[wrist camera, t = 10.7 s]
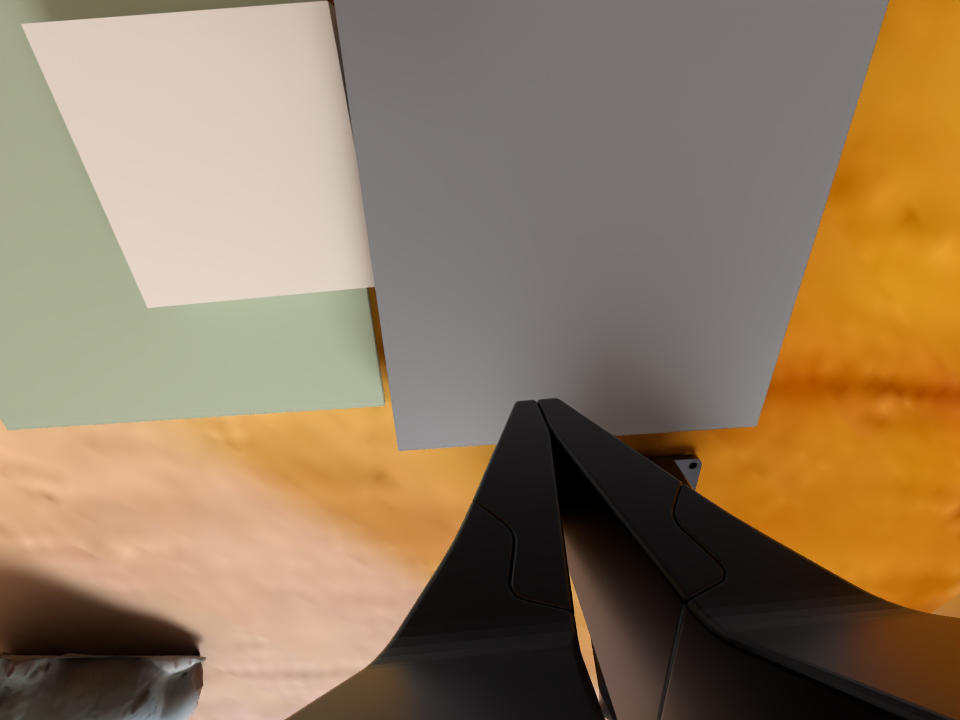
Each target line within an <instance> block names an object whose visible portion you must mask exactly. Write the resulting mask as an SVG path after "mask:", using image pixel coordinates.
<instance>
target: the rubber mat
mask: <svg viewBox="0 0 960 720" xmlns="http://www.w3.org/2000/svg"><path fill="white" fill-rule="evenodd" d="M316 1H325V0H0V419H1V420H2V422H3V424H4V425H5V427H6V428H7V430H18V429H34V428H49V427H65V426H80V425H96V424H111V423H127V422H143V421H158V420H174V419H189V418H205V417H220V416H236V415H251V414H267V413H283V412H298V411H314V410H329V409H345V408H360V407H376V406H385V396H384V390H383V383H382V376H381V370H380V363H379V357H378V350H377V343H376V337H375V330H374V324H373V317H372V310H371V304H370V297H369V290H368V288H357V289H346V290H336V291H325V292H314V293H304V294H293V295H282V296H272V297H261V298H250V299H240V300H229V301H218V302H208V303H197V304H186V305H176V306H165V307H154V308H147V306H146V303H145V301H144V299H143V297H142V294H141V292H140V290H139V288H138V285H137V283H136V281H135V279H134V276H133V274H132V272H131V270H130V268H129V265H128V263H127V261H126V259H125V256H124V254H123V252H122V250H121V247H120V245H119V243H118V241H117V238H116V236H115V234H114V232H113V229H112V227H111V225H110V223H109V220H108V218H107V216H106V214H105V211H104V209H103V207H102V205H101V202H100V200H99V198H98V196H97V194H96V191H95V189H94V187H93V185H92V182H91V180H90V178H89V176H88V173H87V171H86V169H85V167H84V164H83V162H82V160H81V158H80V155H79V153H78V151H77V149H76V146H75V144H74V142H73V140H72V137H71V135H70V133H69V131H68V129H67V126H66V124H65V122H64V120H63V117H62V115H61V113H60V111H59V108H58V106H57V104H56V102H55V99H54V97H53V95H52V93H51V90H50V88H49V86H48V84H47V81H46V79H45V77H44V75H43V72H42V70H41V68H40V66H39V63H38V61H37V59H36V57H35V55H34V52H33V50H32V48H31V46H30V43H29V41H28V39H27V37H26V34H25V32H24V30H23V28H22V25H21V24H27V23H40V22H53V21H66V20H80V19H93V18H106V17H119V16H132V15H145V14H158V13H172V12H185V11H198V10H211V9H224V8H237V7H250V6H264V5H277V4H290V3H303V2H316Z"/></svg>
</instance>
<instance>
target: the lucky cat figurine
mask: <svg viewBox="0 0 960 720" xmlns="http://www.w3.org/2000/svg"><path fill="white" fill-rule="evenodd" d="M205 659H206V657H200V652H198V653H194V654H186V655H177V656H99V655H87V654H75V653H69V654H64V655H61V656H39V655H14V654H9V653H5V652H4V653H2V654H0V720H188V719H189V717H190V716H191V714H192V713H193V712H194V710H195V709H196V707H197V704H198V699H199V696H200V693H201V689H202V687H203V669H202V665H201V662H203V661H205Z"/></svg>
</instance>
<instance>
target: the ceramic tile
mask: <svg viewBox="0 0 960 720" xmlns="http://www.w3.org/2000/svg"><path fill="white" fill-rule="evenodd" d="M21 25H22V28H23V30H24V32H25V34H26V37H27V39H28V41H29V43H30V46H31V48H32V50H33V52H34V55H35V57H36V59H37V61H38V63H39V66H40V68H41V70H42V72H43V75H44V77H45V79H46V81H47V84H48V86H49V88H50V90H51V93H52V95H53V97H54V99H55V102H56V104H57V106H58V108H59V111H60V113H61V115H62V117H63V120H64V122H65V124H66V126H67V129H68V131H69V133H70V135H71V137H72V140H73V142H74V144H75V146H76V149H77V151H78V153H79V155H80V158H81V160H82V162H83V164H84V167H85V169H86V171H87V173H88V176H89V178H90V180H91V182H92V185H93V187H94V189H95V191H96V194H97V196H98V198H99V200H100V202H101V205H102V207H103V209H104V211H105V214H106V216H107V218H108V220H109V223H110V225H111V227H112V229H113V232H114V234H115V236H116V238H117V241H118V243H119V245H120V247H121V250H122V252H123V254H124V256H125V259H126V261H127V263H128V265H129V268H130V270H131V272H132V274H133V276H134V279H135V281H136V283H137V285H138V288H139V290H140V292H141V294H142V297H143V299H144V301H145V303H146V306H147V308H154V307H165V306H176V305H186V304H197V303H208V302H218V301H229V300H240V299H250V298H261V297H272V296H282V295H293V294H304V293H314V292H325V291H336V290H346V289H357V288H368V287H375V284H374V277H373V270H372V263H371V256H370V249H369V242H368V235H367V228H366V221H365V214H364V207H363V200H362V193H361V186H360V179H359V172H358V165H357V158H356V151H355V144H354V137H353V131H352V124H351V117H350V110H349V103H348V96H347V89H346V82H345V75H344V68H343V61H342V54H341V47H340V40H339V33H338V26H337V19H336V12H335V7H334V6H333V5H332V4H331V3H330V2H329V1H316V2H303V3H290V4H277V5H264V6H250V7H237V8H224V9H211V10H198V11H185V12H172V13H158V14H145V15H132V16H119V17H106V18H93V19H80V20H66V21H53V22H40V23H27V24H21Z"/></svg>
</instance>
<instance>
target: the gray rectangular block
mask: <svg viewBox="0 0 960 720" xmlns="http://www.w3.org/2000/svg"><path fill="white" fill-rule="evenodd" d="M888 2H889V0H334V5H335V12H336V19H337V26H338V33H339V40H340V47H341V54H342V61H343V68H344V75H345V82H346V89H347V96H348V103H349V110H350V117H351V124H352V131H353V137H354V144H355V151H356V158H357V165H358V172H359V179H360V186H361V193H362V200H363V207H364V214H365V221H366V228H367V235H368V242H369V249H370V256H371V263H372V270H373V277H374V284H375V291H376V298H377V304H378V311H379V318H380V325H381V332H382V339H383V346H384V353H385V360H386V367H387V374H388V381H389V388H390V395H391V402H392V409H393V416H394V423H395V430H396V437H397V444H398V451H405V450H419V449H434V448H448V447H462V446H477V445H491V444H497V443H498V441H499V438H500V436H501V434H502V432H503V429H504V427H505V425H506V422H507V420H508V418H509V415H510V413H511V411H512V408H513V406H514V404H515V402H517V401H523V400H535V401H536V402H537V401H538V400H540V399H548V398H558V399H560V400H562V401H563V402H565V403H566V404H568V405H569V406H571V407H572V408H573V409H575V410H576V411H578V412H579V413H581V414H582V415H584V416H585V417H587V418H588V419H590V420H591V421H593V422H594V423H596V424H597V425H599V426H600V427H601V428H603V429H604V430H606V431H607V432H609V433H610V434H612V435H613V436H622V435H636V434H651V433H665V432H680V431H694V430H709V429H723V428H737V427H752V426H757V422H758V419H759V416H760V413H761V410H762V406H763V403H764V400H765V397H766V394H767V390H768V387H769V384H770V381H771V378H772V374H773V371H774V368H775V365H776V362H777V358H778V355H779V352H780V349H781V345H782V342H783V339H784V336H785V333H786V329H787V326H788V323H789V320H790V317H791V313H792V310H793V307H794V304H795V301H796V297H797V294H798V291H799V288H800V285H801V281H802V278H803V275H804V272H805V269H806V265H807V262H808V259H809V256H810V253H811V249H812V246H813V243H814V240H815V236H816V233H817V230H818V227H819V224H820V220H821V217H822V214H823V211H824V208H825V204H826V201H827V198H828V195H829V192H830V188H831V185H832V182H833V179H834V176H835V172H836V169H837V166H838V163H839V160H840V156H841V153H842V150H843V147H844V144H845V140H846V137H847V134H848V131H849V128H850V124H851V121H852V118H853V115H854V111H855V108H856V105H857V102H858V99H859V95H860V92H861V89H862V86H863V83H864V79H865V76H866V73H867V70H868V67H869V63H870V60H871V57H872V54H873V51H874V47H875V44H876V41H877V38H878V35H879V31H880V28H881V25H882V22H883V19H884V15H885V12H886V9H887V6H888Z"/></svg>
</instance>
